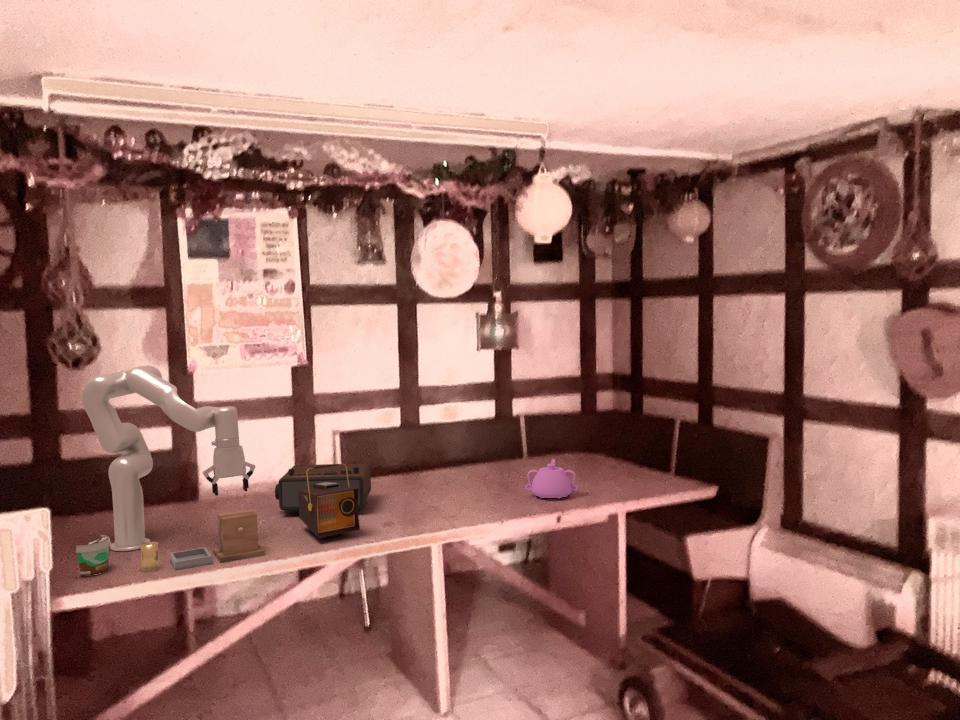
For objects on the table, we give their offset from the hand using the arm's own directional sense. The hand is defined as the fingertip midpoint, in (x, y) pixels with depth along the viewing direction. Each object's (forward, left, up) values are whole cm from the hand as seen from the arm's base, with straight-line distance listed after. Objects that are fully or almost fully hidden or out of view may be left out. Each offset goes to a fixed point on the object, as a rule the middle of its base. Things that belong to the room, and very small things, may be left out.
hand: (230, 492), depth 264 cm
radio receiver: (-31, +43, -19) cm, 56 cm away
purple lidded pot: (+3, +131, -19) cm, 132 cm away
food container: (+5, -41, -19) cm, 46 cm away
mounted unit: (+11, 0, -18) cm, 21 cm away
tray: (+11, -15, -18) cm, 26 cm away
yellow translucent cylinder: (+11, -27, -18) cm, 35 cm away
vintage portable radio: (+5, +32, -19) cm, 37 cm away
